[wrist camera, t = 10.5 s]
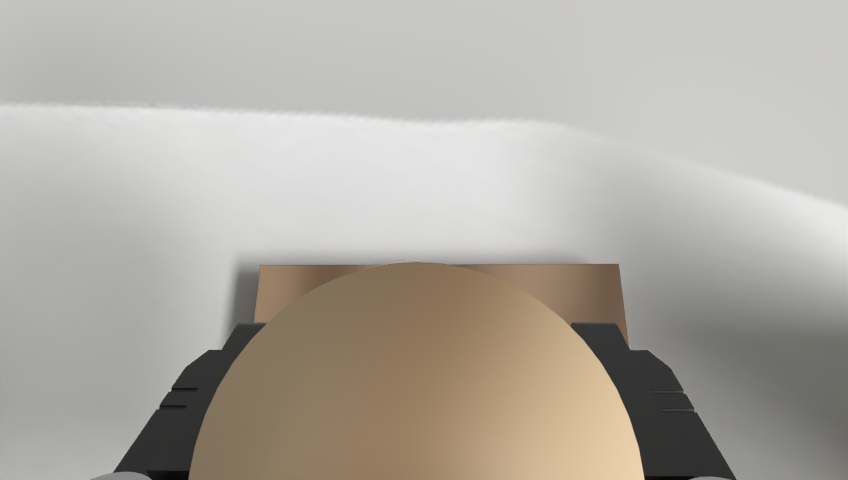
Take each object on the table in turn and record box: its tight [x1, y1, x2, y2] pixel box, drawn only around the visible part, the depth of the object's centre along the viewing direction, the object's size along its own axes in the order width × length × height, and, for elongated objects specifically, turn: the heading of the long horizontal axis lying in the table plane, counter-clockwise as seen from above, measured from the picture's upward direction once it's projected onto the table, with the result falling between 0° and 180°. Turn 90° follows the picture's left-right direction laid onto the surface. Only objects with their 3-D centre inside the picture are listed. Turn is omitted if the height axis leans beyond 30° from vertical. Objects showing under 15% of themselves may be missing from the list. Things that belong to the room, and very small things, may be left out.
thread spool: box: [189, 262, 645, 480], centre depth 10 cm, size 5×5×8 cm
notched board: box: [254, 264, 629, 347], centre depth 27 cm, size 18×14×2 cm
